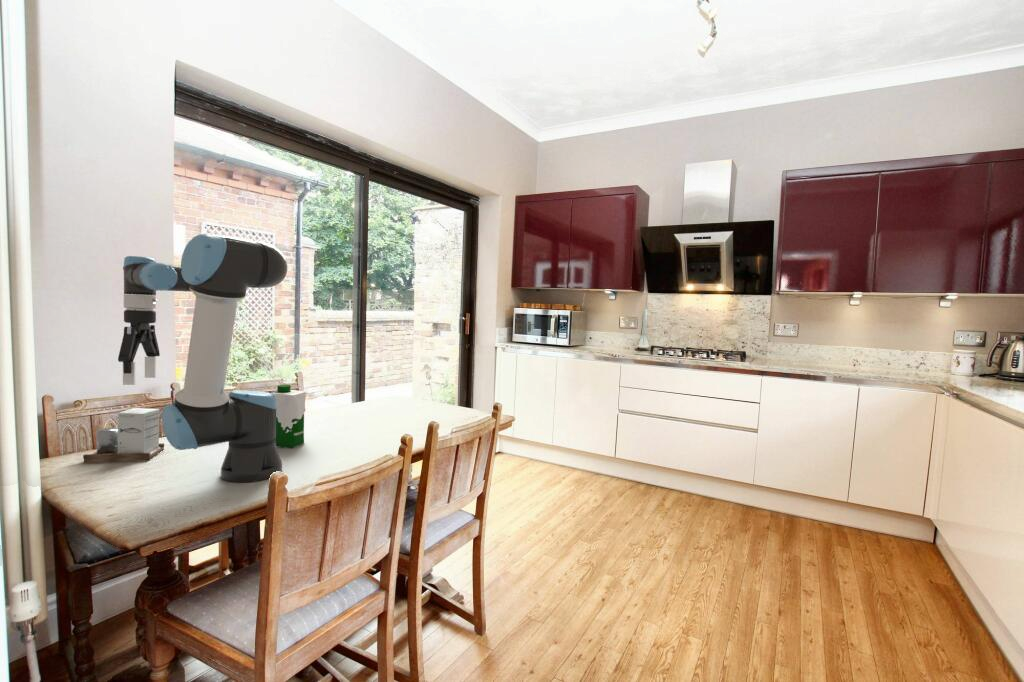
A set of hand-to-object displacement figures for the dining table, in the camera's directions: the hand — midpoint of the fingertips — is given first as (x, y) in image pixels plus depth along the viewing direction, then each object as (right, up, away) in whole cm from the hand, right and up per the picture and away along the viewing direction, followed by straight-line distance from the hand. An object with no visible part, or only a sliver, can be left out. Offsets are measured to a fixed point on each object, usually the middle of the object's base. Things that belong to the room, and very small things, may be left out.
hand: (140, 381), depth 144 cm
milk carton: (+35, -23, +20) cm, 47 cm away
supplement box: (-1, -22, +1) cm, 22 cm away
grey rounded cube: (-9, -21, -1) cm, 23 cm away
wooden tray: (-5, -23, 0) cm, 23 cm away
